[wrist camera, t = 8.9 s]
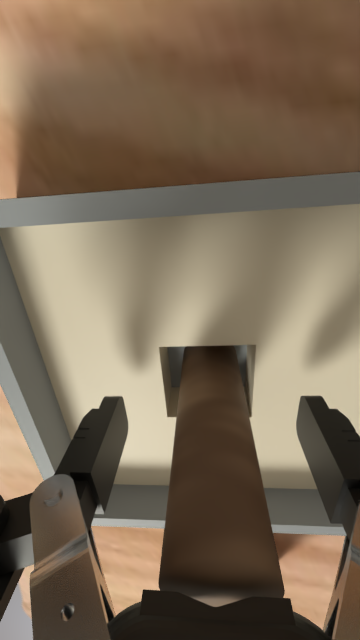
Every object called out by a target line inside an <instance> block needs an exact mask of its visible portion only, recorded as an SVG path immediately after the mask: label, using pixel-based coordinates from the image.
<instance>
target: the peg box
mask: <svg viewBox="0 0 360 640" xmlns="http://www.w3.org/2000/svg"><path fill="white" fill-rule="evenodd" d="M222 345H233V346H234V347H235V350H236V354H237V359H238V364H239V369H240V374H241V379H242V384H243V388H244V393H245V398H246V403H247V408H248V413H249V418H250V423H251V428H252V433H253V438H254V443H255V447H256V452H257V457H258V462H259V467H260V472H261V477H262V482H263V487H264V492H265V497H266V502H267V507H268V511H269V516H270V521H271V526H272V531H273V533H290V534H316V535H341V536H346V532H345V530H344V527H343V525H342V524H331V523H330V521H329V518H328V515H327V513H326V510H325V507H324V505H323V502H322V500H321V497H320V494H319V492H318V489H317V486H316V484H315V481H314V478H313V476H312V473H311V471H310V468H309V465H308V463H307V460H306V457H305V455H304V452H303V450H302V447H301V444H300V442H299V439H298V436H297V431H296V420H297V414H298V408H299V402H300V397H301V396H322V397H323V398H324V400H325V402H326V404H327V405H328V407H329V409H338V410H339V411H340V412H341V413H342V414H344V415H345V416H346V417H347V418H348V419H349V420H350V422H351V423H352V425H353V427H354V428H355V430H356V433H358V435H359V436H360V172H347V173H334V174H321V175H308V176H295V177H282V178H269V179H256V180H244V181H231V182H218V183H205V184H192V185H179V186H166V187H153V188H140V189H128V190H115V191H102V192H89V193H76V194H63V195H50V196H37V197H24V198H12V199H0V385H1V387H2V389H3V392H4V394H5V396H6V398H7V400H8V403H9V405H10V407H11V409H12V411H13V414H14V416H15V418H16V420H17V422H18V425H19V427H20V429H21V431H22V433H23V436H24V438H25V440H26V442H27V444H28V447H29V449H30V451H31V453H32V455H33V458H34V460H35V462H36V464H37V467H38V469H39V471H40V473H41V475H42V478H43V480H46V479H47V478H49V477H51V476H53V475H54V474H55V472H56V470H57V468H58V466H59V464H60V462H61V460H62V458H63V456H64V454H65V452H66V450H67V448H68V446H69V444H70V442H71V440H72V439H73V436H74V434H75V432H76V430H78V427H79V425H80V423H81V421H82V419H83V417H84V416H85V415H86V414H87V413H88V412H89V411H90V410H91V409H99V406H100V404H101V402H102V400H103V398H104V397H105V396H122V397H123V399H124V404H125V409H126V414H127V418H128V435H127V439H126V442H125V446H124V449H123V452H122V456H121V459H120V463H119V466H118V469H117V473H116V476H115V480H114V483H113V487H112V490H111V493H110V497H109V500H108V504H107V507H106V510H105V514H95V515H94V518H93V521H92V524H91V526H113V527H138V528H165V519H166V510H167V500H168V491H169V482H170V473H171V463H172V454H173V445H174V436H175V426H176V417H177V408H178V399H179V390H180V380H181V371H182V362H183V353H184V349H185V347H186V346H222Z"/></svg>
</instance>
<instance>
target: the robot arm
mask: <svg viewBox="0 0 360 640" xmlns="http://www.w3.org/2000/svg"><path fill="white" fill-rule="evenodd" d="M296 431H297V436H298V439H299V442H300V444H301V447H302V450H303V452H304V455H305V457H306V460H307V463H308V465H309V468H310V471H311V473H312V476H313V478H314V481H315V484H316V486H317V489H318V492H319V494H320V497H321V500H322V502H323V505H324V507H325V510H326V513H327V515H328V518H329V521H330V523H331V524H342V525H343V527H344V530H345V532H346V537H345V540H344V544H343V549H342V553H341V558H340V562H339V567H338V571H337V575H336V580H335V584H334V589H333V593H332V597H331V601H330V604H329V608H328V611H327V615H326V619H325V623H324V627H323V630H322V629H320V628H319V627H318V626H317V625H315V624H314V623H313V622H311V621H310V620H308V619H307V618H305V617H303V616H301V615H300V614H298V613H295V612H293V610H292V605H291V600H290V599H289V598H272V597H256V596H252V597H249V598H245V599H242V600H239V601H236V602H232V603H229V604H226V605H223V606H219V607H213V606H210V605H208V604H205V603H203V602H201V601H198V600H196V599H194V598H191V597H189V596H187V595H184V594H182V593H180V592H174V591H157V590H143V594H142V601H141V602H139V603H136V604H134V605H132V606H130V607H128V608H126V609H125V610H123V611H122V612H120V613H119V614H118V615H115V611H114V608H113V604H112V601H111V597H110V594H109V591H108V588H107V585H106V581H105V578H104V574H103V570H102V566H101V563H100V559H99V555H98V551H97V548H96V544H95V540H94V536H93V532H92V529H91V524H92V521H93V518H94V515H95V514H105V510H106V507H107V504H108V500H109V497H110V493H111V490H112V487H113V483H114V480H115V476H116V473H117V469H118V466H119V463H120V459H121V456H122V452H123V449H124V446H125V442H126V439H127V435H128V418H127V414H126V409H125V404H124V399H123V397H122V396H105V397H104V398H103V400H102V402H101V404H100V406H99V409H91V410H90V411H89V412H88V413H87V414H86V415H85V416H84V417H83V419H82V421H81V423H80V425H79V427H78V430H76V432H75V434H74V436H73V439H72V440H71V442H70V444H69V446H68V448H67V450H66V452H65V454H64V456H63V458H62V460H61V462H60V464H59V466H58V468H57V470H56V472H55V474H54V475H53V476H51V477H49V478H47V479H46V480H44V481H43V482H42V483H41V484H40V485H39V486H38V487H37V488H36V489H35V491H34V492H33V493H30V494H28V495H24V496H21V497H18V498H14V499H11V500H7V501H4V499H3V498H2V496H1V495H0V621H1V619H2V617H3V615H4V612H5V610H6V608H7V606H8V603H9V601H10V599H11V597H12V594H13V592H14V590H15V588H16V585H17V583H18V581H19V579H20V577H21V574H22V572H23V570H24V568H25V567H27V566H30V565H33V564H34V571H33V572H31V574H30V598H31V613H32V628H33V640H360V436H359V435H358V433H356V430H355V428H354V427H353V425H352V423H351V422H350V420H349V419H348V418H347V417H346V416H345V415H344V414H342V413H341V412H340V411H339V410H338V409H329V407H328V405H327V404H326V402H325V400H324V398H323V397H322V396H301V397H300V402H299V408H298V414H297V420H296Z"/></svg>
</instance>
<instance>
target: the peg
mask: <svg viewBox="0 0 360 640" xmlns="http://www.w3.org/2000/svg"><path fill="white" fill-rule="evenodd" d="M159 588H160V590H161V591H174V592H180V593H182V594H184V595H187V596H189V597H191V598H194V599H196V600H198V601H201V602H203V603H205V604H208V605H210V606H213V607H219V606H223V605H226V604H229V603H232V602H236V601H239V600H242V599H245V598H249V597H252V596H256V597H272V598H283V596H284V591H285V590H284V585H283V580H282V575H281V570H280V566H279V561H278V556H277V551H276V546H275V541H274V536H273V531H272V526H271V521H270V516H269V511H268V507H267V502H266V497H265V492H264V487H263V482H262V477H261V472H260V467H259V462H258V457H257V452H256V447H255V443H254V438H253V433H252V428H251V423H250V418H249V413H248V408H247V403H246V398H245V393H244V388H243V384H242V379H241V374H240V369H239V364H238V359H237V354H236V350H235V347H234V346H233V345H222V346H186V347H185V349H184V353H183V362H182V371H181V380H180V390H179V399H178V408H177V417H176V426H175V436H174V445H173V454H172V463H171V473H170V482H169V491H168V500H167V510H166V519H165V528H164V537H163V547H162V556H161V565H160V574H159Z"/></svg>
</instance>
